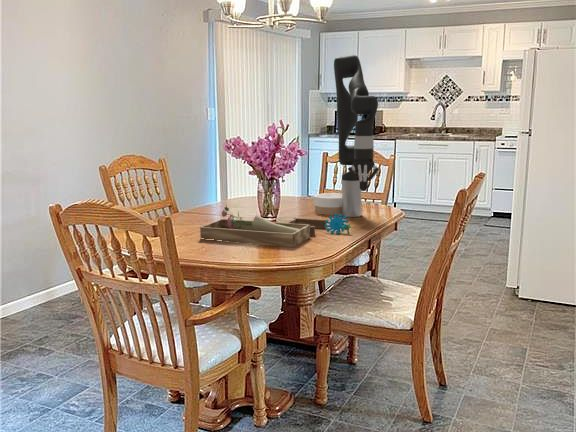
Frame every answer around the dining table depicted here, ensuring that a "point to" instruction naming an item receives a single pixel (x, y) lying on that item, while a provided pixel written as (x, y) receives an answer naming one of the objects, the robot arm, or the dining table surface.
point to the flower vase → (259, 224)
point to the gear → (337, 224)
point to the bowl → (328, 203)
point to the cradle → (309, 223)
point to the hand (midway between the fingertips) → (363, 190)
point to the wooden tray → (254, 233)
